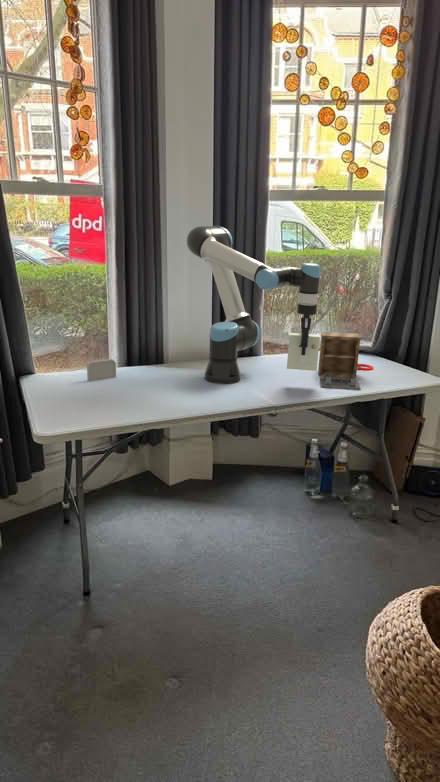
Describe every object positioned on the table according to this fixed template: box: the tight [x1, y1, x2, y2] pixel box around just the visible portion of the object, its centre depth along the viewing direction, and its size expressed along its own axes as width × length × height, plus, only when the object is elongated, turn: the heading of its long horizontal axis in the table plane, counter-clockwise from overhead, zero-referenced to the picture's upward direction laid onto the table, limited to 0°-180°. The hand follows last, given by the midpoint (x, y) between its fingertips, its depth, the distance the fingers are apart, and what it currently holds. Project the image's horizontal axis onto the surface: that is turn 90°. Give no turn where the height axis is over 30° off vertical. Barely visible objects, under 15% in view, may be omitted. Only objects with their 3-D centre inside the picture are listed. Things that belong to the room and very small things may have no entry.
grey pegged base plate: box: [319, 372, 362, 391], centre depth 237 cm, size 16×10×4 cm, turn 83°
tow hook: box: [357, 346, 374, 371], centre depth 263 cm, size 8×13×9 cm
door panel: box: [286, 332, 321, 372], centre depth 230 cm, size 12×5×14 cm, turn 83°
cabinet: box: [317, 331, 361, 379], centre depth 250 cm, size 16×8×18 cm, turn 83°
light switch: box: [86, 358, 117, 382], centre depth 235 cm, size 2×12×8 cm, turn 125°
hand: (302, 360), depth 232 cm, fingers closed on door panel, 4 cm apart
